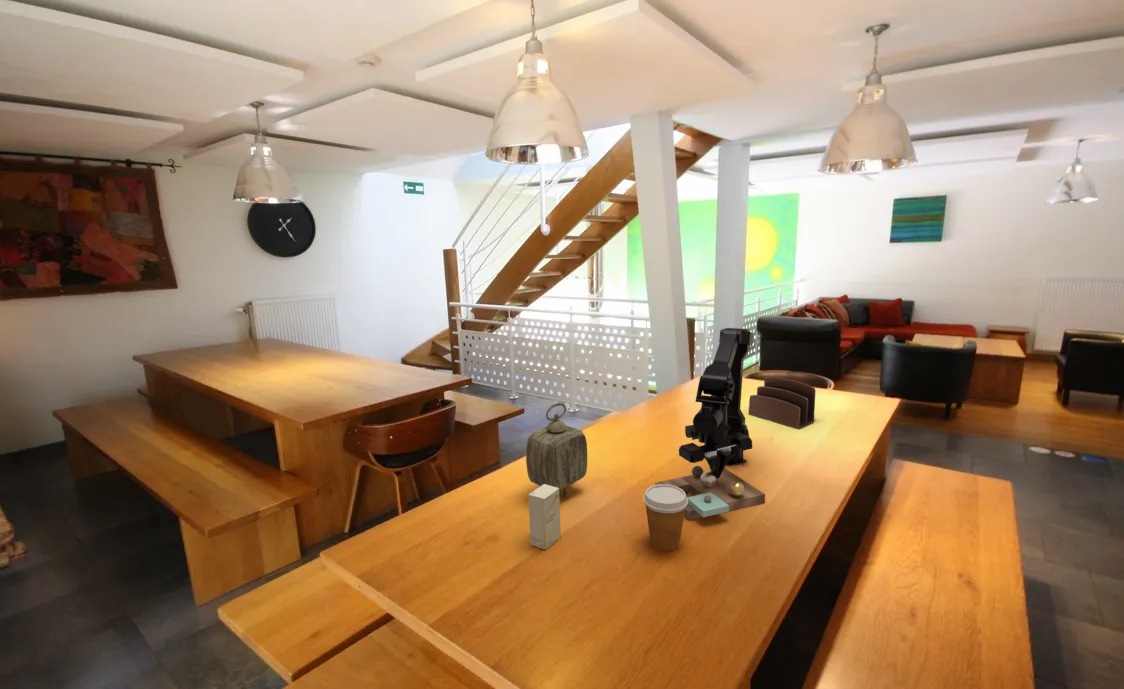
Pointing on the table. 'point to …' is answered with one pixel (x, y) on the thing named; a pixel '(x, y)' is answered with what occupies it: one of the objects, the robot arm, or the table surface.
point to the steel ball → (708, 479)
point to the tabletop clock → (556, 454)
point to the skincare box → (544, 516)
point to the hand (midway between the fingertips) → (716, 477)
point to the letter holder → (784, 402)
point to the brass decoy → (736, 489)
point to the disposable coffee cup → (665, 515)
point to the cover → (707, 504)
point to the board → (717, 492)
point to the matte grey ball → (697, 471)
